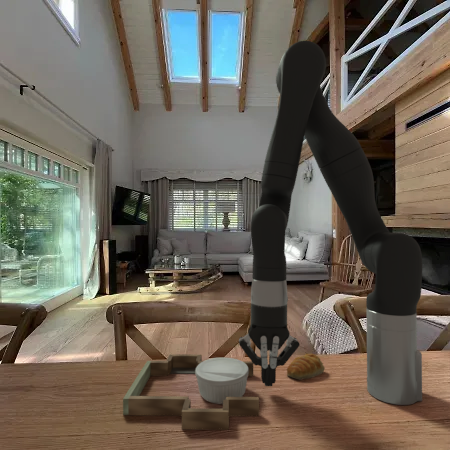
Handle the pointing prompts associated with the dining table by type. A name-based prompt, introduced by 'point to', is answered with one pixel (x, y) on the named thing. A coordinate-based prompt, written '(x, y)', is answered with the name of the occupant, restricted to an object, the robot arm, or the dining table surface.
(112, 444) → the dining table surface
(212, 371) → the ramekin
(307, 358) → the pastry
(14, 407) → the dining table surface
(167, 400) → the box
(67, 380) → the dining table surface
